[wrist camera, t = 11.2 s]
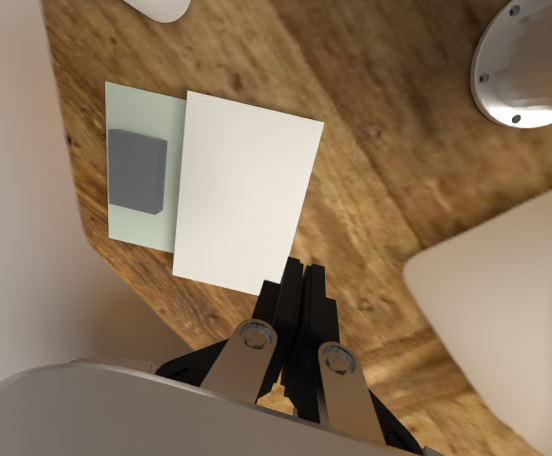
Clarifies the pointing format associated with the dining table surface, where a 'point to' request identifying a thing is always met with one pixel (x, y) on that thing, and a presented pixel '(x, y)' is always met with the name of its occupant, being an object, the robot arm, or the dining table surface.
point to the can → (161, 9)
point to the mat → (167, 126)
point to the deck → (240, 191)
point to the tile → (136, 171)
